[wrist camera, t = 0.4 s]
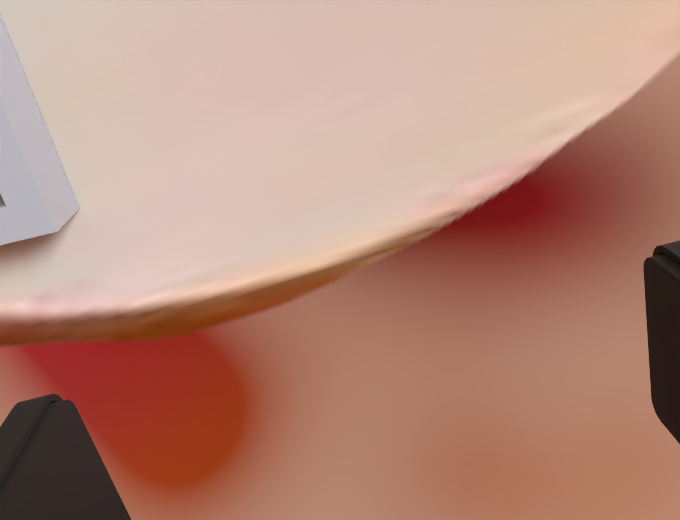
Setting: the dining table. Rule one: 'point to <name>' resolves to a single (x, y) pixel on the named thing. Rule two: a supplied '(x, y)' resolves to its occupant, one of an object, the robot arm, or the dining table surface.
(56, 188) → the grey square tray
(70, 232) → the dining table surface
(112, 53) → the dining table surface
